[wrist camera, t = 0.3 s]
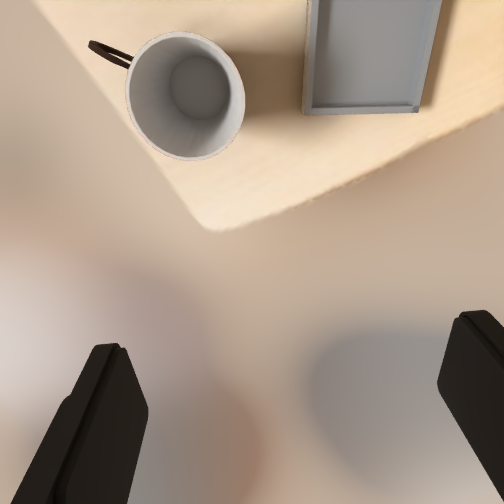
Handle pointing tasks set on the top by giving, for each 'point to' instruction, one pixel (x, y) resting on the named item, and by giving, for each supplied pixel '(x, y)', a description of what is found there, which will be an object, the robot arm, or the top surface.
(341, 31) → the slate dish
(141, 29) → the top surface
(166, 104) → the coffee mug
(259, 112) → the top surface
